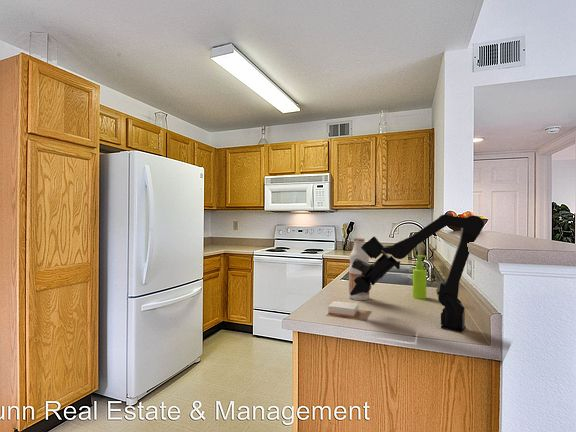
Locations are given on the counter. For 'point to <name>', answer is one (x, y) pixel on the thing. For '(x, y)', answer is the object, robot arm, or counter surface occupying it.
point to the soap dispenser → (419, 279)
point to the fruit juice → (354, 273)
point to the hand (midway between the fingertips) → (350, 294)
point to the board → (361, 315)
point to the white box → (343, 308)
